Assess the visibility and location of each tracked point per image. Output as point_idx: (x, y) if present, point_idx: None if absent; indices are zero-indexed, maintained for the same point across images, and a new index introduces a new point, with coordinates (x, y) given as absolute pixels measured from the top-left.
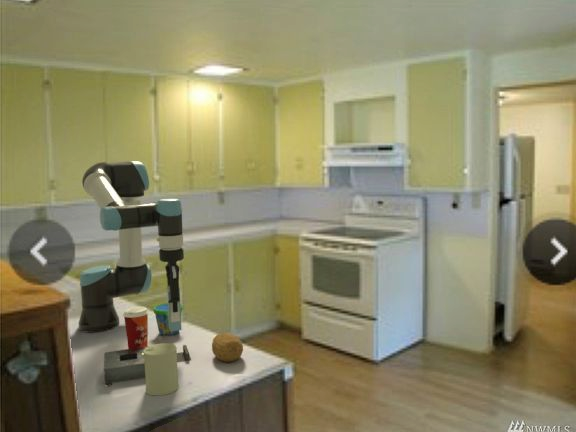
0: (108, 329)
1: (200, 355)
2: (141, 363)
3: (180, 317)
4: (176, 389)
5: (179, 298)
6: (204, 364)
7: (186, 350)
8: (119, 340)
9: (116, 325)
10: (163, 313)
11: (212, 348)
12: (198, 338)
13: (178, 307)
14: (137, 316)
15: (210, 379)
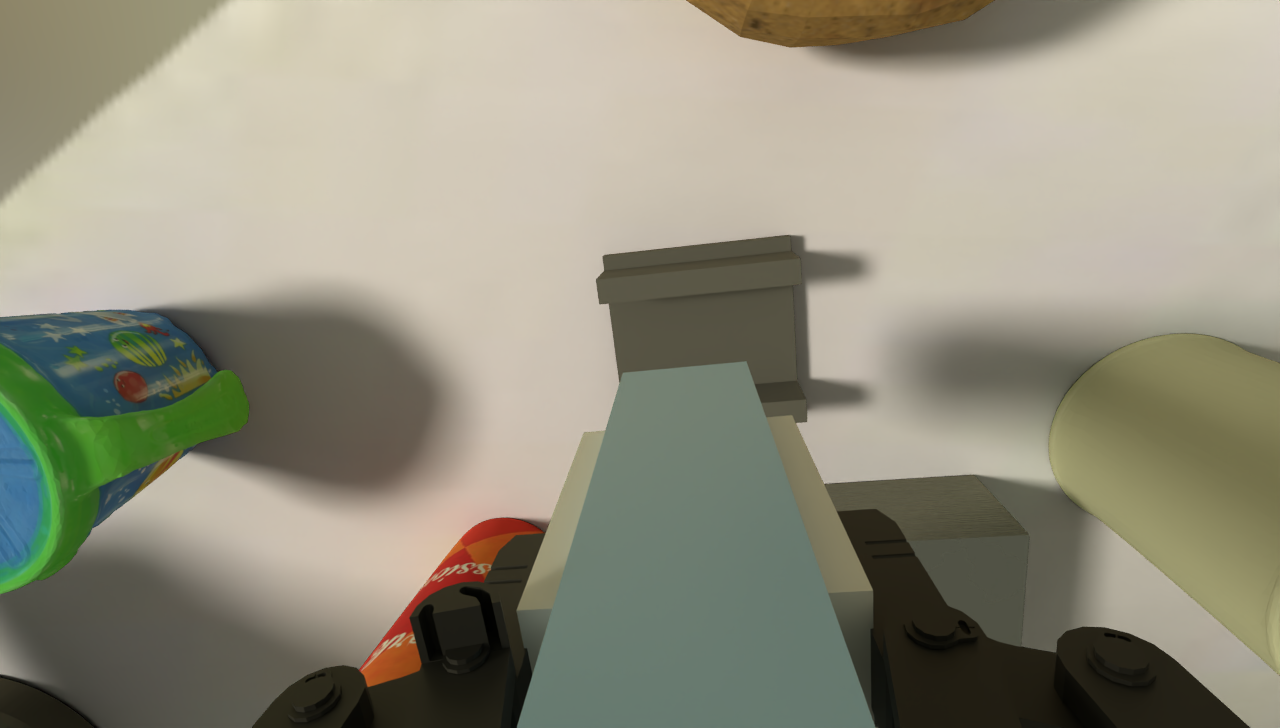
0: (89, 725)
1: (677, 161)
2: (1018, 610)
3: (764, 420)
4: (1244, 350)
5: (1154, 680)
6: (874, 136)
7: (730, 278)
8: (277, 664)
9: (26, 693)
10: (86, 504)
11: (855, 38)
12: (299, 162)
13: (835, 527)
14: None
15: (1191, 103)
